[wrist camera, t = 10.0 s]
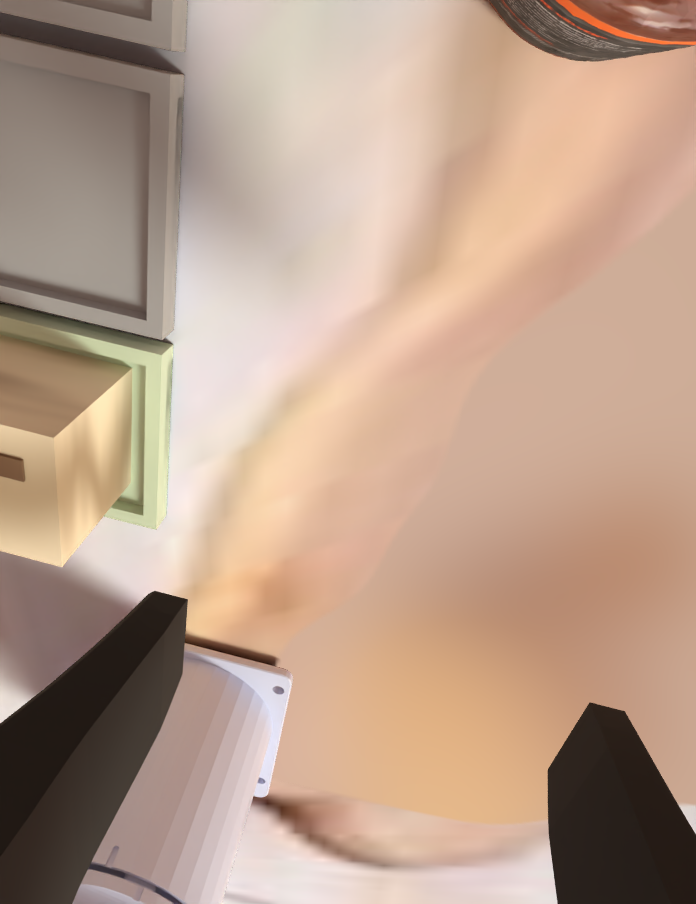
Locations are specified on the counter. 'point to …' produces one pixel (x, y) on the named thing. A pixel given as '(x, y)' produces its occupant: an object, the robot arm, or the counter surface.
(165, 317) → the middle dish
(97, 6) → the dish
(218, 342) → the counter surface
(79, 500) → the letter block
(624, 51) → the supplement bottle
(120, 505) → the green dish
